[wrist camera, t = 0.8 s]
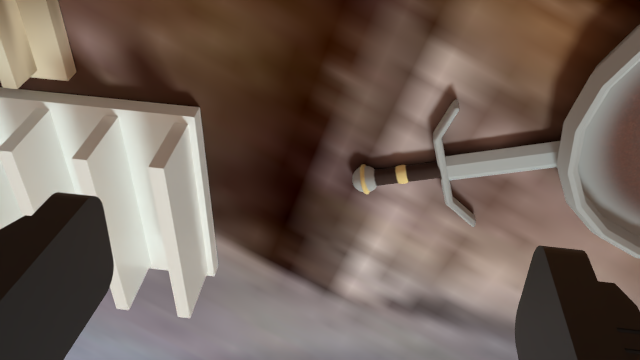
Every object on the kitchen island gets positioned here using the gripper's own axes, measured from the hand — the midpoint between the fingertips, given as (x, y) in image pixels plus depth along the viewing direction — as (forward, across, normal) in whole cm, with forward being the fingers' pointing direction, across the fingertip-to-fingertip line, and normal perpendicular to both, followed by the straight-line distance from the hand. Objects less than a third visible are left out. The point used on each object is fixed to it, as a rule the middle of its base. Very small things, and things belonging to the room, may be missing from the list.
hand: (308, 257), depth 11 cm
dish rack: (+21, +20, +13) cm, 32 cm away
